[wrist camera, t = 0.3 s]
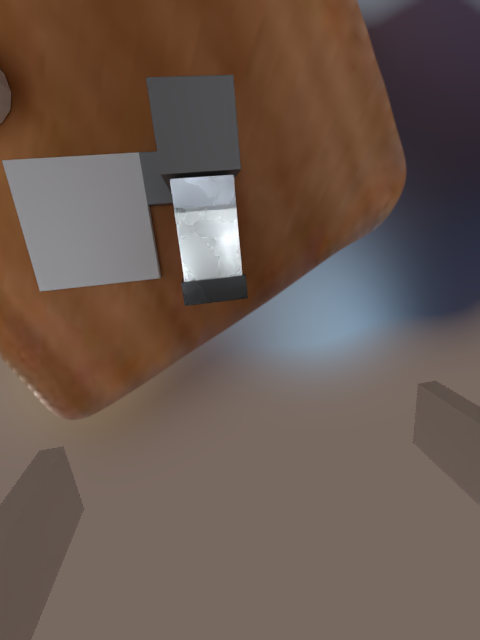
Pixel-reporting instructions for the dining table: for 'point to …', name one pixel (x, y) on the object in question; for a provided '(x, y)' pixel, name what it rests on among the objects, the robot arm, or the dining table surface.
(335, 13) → the dining table surface
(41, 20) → the dining table surface
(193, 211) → the handle
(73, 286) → the frame
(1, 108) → the white cup
